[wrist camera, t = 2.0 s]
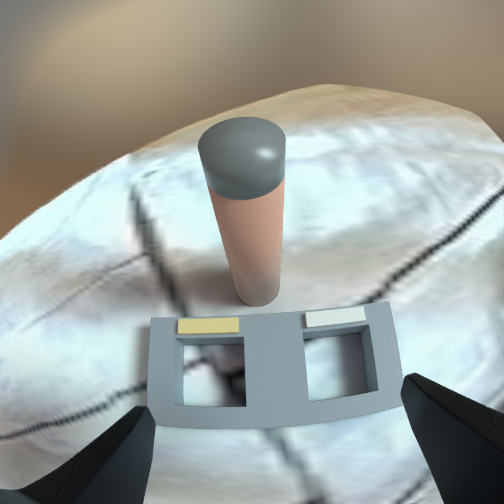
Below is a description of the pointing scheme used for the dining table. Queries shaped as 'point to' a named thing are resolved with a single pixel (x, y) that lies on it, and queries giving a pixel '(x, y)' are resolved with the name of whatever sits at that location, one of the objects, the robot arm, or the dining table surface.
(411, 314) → the dining table surface
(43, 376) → the dining table surface
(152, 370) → the socket plate
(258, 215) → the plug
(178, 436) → the dining table surface
